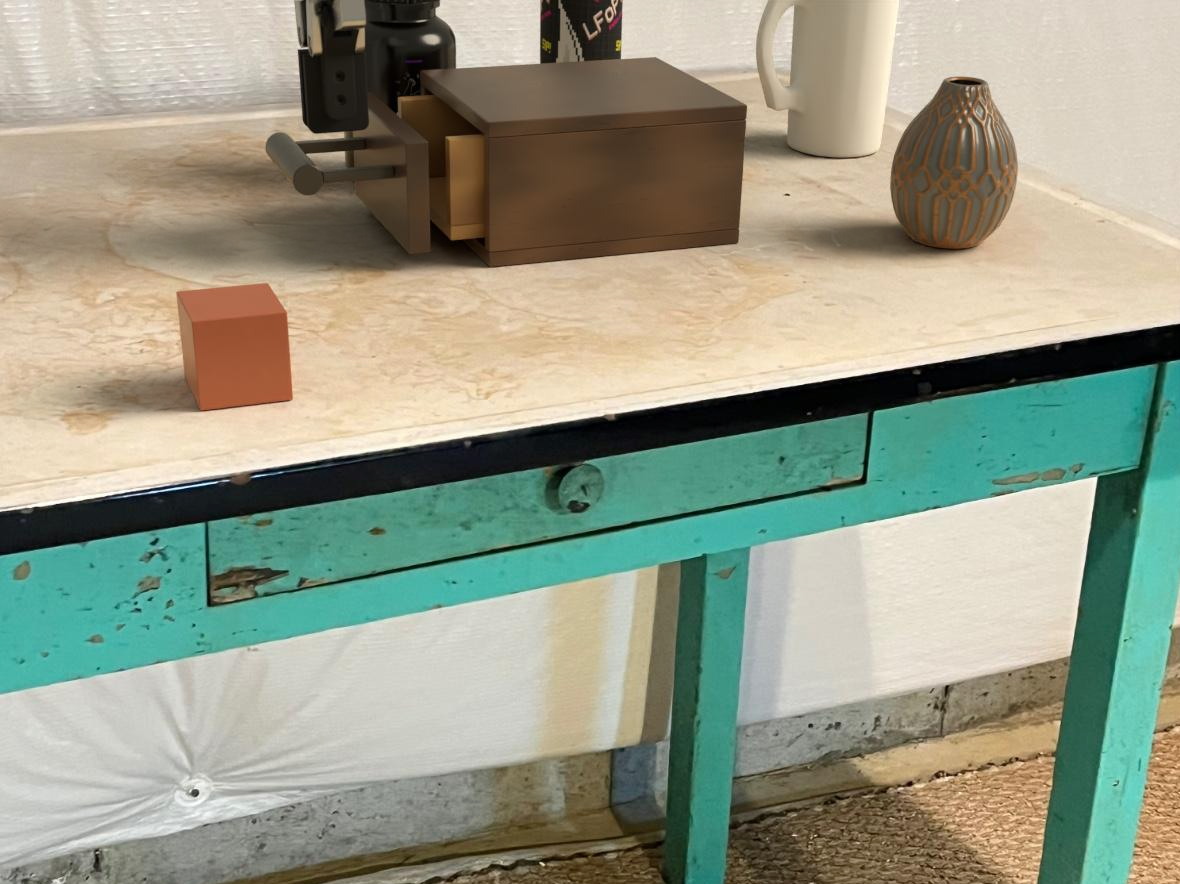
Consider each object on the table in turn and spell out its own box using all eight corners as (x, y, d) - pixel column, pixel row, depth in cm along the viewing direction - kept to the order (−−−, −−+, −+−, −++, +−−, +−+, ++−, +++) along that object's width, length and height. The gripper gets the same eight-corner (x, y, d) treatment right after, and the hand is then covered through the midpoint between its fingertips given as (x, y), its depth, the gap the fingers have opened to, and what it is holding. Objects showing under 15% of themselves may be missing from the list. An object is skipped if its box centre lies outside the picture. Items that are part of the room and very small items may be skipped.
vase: (925, 262, 92) (945, 99, 88) (862, 226, 98) (878, 71, 94) (1031, 251, 95) (1056, 90, 90) (964, 216, 100) (984, 64, 96)
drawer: (306, 264, 87) (299, 150, 84) (261, 203, 96) (254, 98, 93) (647, 232, 93) (651, 125, 90) (574, 177, 102) (576, 79, 99)
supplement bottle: (412, 198, 101) (406, -14, 95) (323, 179, 104) (312, -28, 98) (479, 173, 106) (477, -30, 100) (392, 156, 109) (385, -42, 103)
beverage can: (576, 121, 118) (579, -63, 112) (523, 105, 122) (523, -73, 116) (636, 109, 122) (642, -69, 116) (582, 94, 125) (585, -79, 119)
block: (200, 411, 72) (191, 321, 70) (184, 377, 75) (175, 291, 73) (293, 400, 73) (287, 311, 72) (274, 367, 77) (268, 282, 75)
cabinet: (489, 267, 90) (488, 122, 86) (423, 202, 100) (419, 70, 96) (738, 243, 95) (747, 104, 91) (651, 183, 105) (656, 56, 101)
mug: (845, 129, 118) (863, -54, 112) (904, 153, 113) (925, -38, 107) (722, 144, 114) (733, -46, 108) (778, 169, 108) (792, -29, 103)
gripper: (206, -268, 86) (238, 101, 95) (266, -250, 74) (296, 171, 83) (351, -268, 88) (369, 92, 97) (433, -251, 76) (445, 158, 85)
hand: (336, 127), depth 90 cm, fingers closed
